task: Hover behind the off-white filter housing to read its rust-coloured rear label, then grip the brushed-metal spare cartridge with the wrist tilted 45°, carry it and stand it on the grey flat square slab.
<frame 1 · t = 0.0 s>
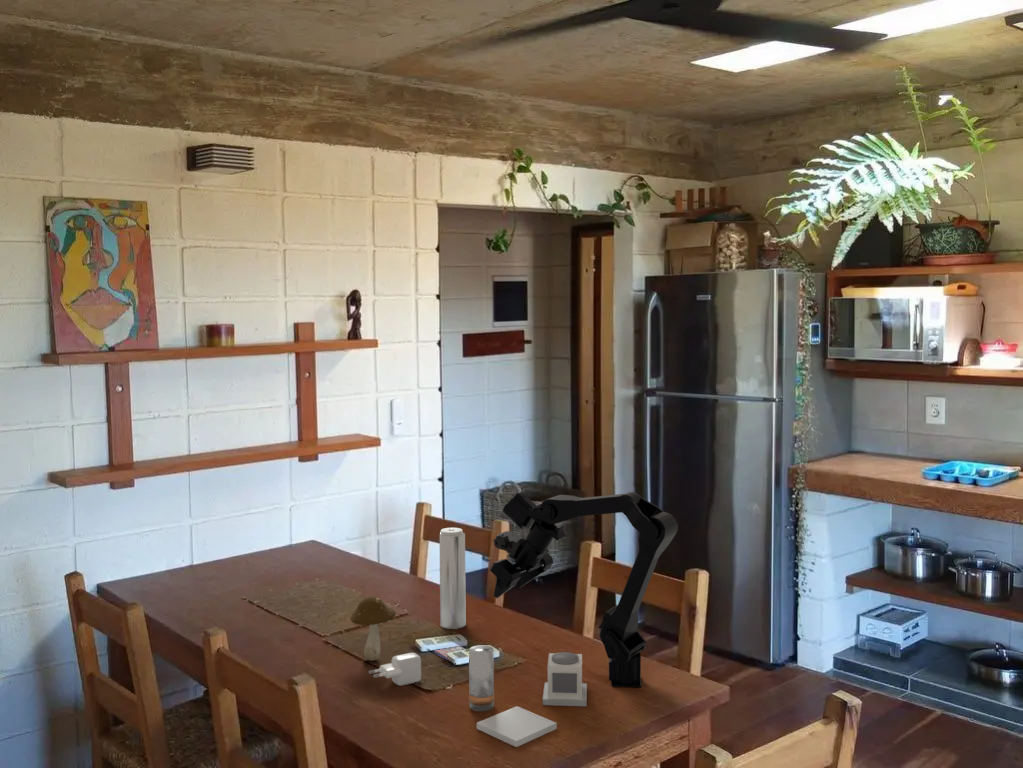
hand: (506, 591, 228), 15 cm above the table, tool tilted 35°, fingers open, 9 cm apart
power adapter: (395, 685, 211), on the table
grey flat square slab: (516, 728, 189), on the table
white tall cylinder: (453, 625, 249), on the table
filter housing: (565, 696, 204), on the table
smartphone: (453, 656, 229), on the table
mushroom: (373, 660, 226), on the table
spare cartridge: (481, 706, 200), on the table
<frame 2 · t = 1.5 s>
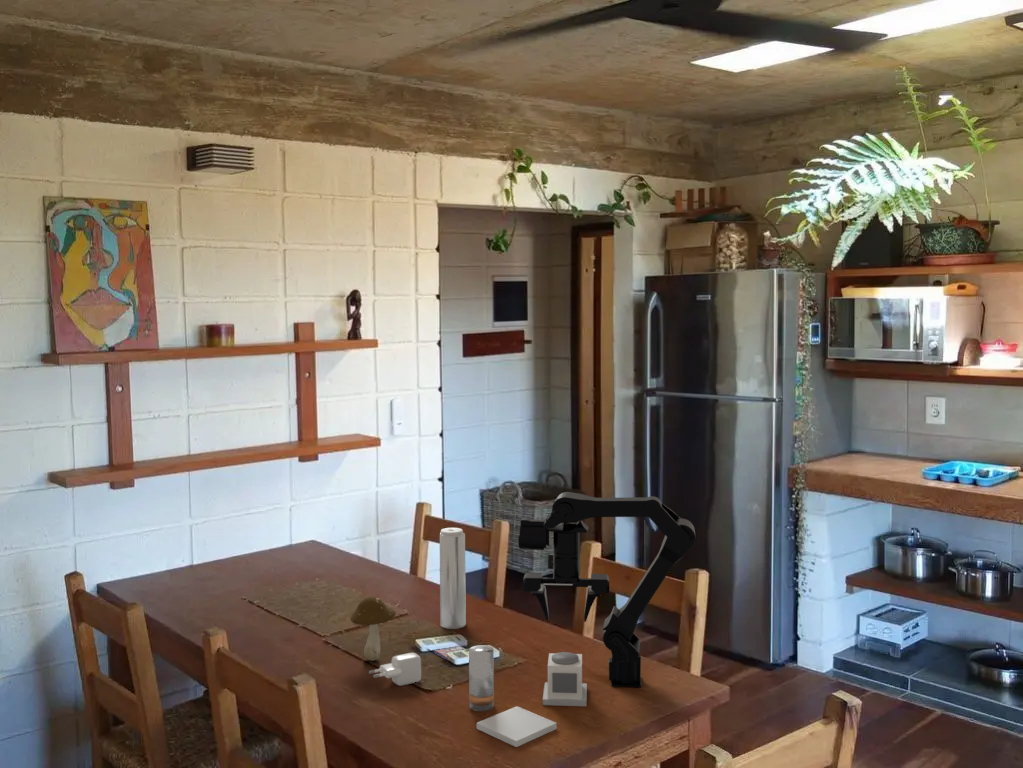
hand: (566, 620, 213), 13 cm above the table, tool pointing down, fingers open, 8 cm apart
nothing on the table moved.
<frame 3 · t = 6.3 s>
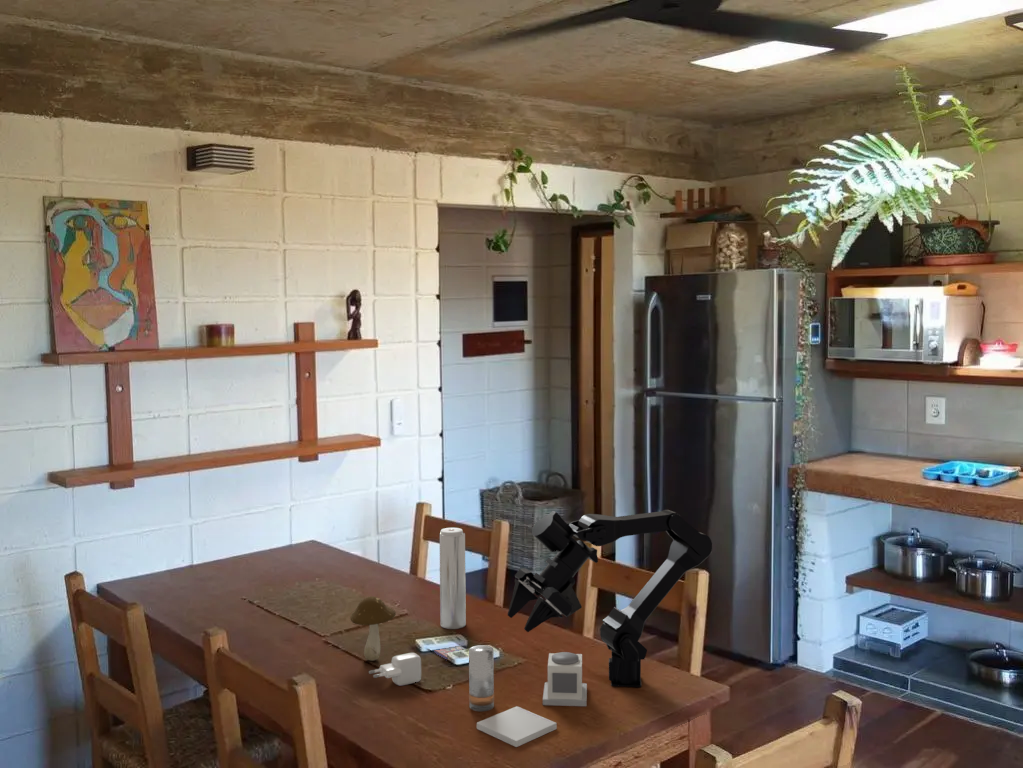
hand: (517, 623, 201), 16 cm above the table, tool tilted 45°, fingers open, 9 cm apart
nothing on the table moved.
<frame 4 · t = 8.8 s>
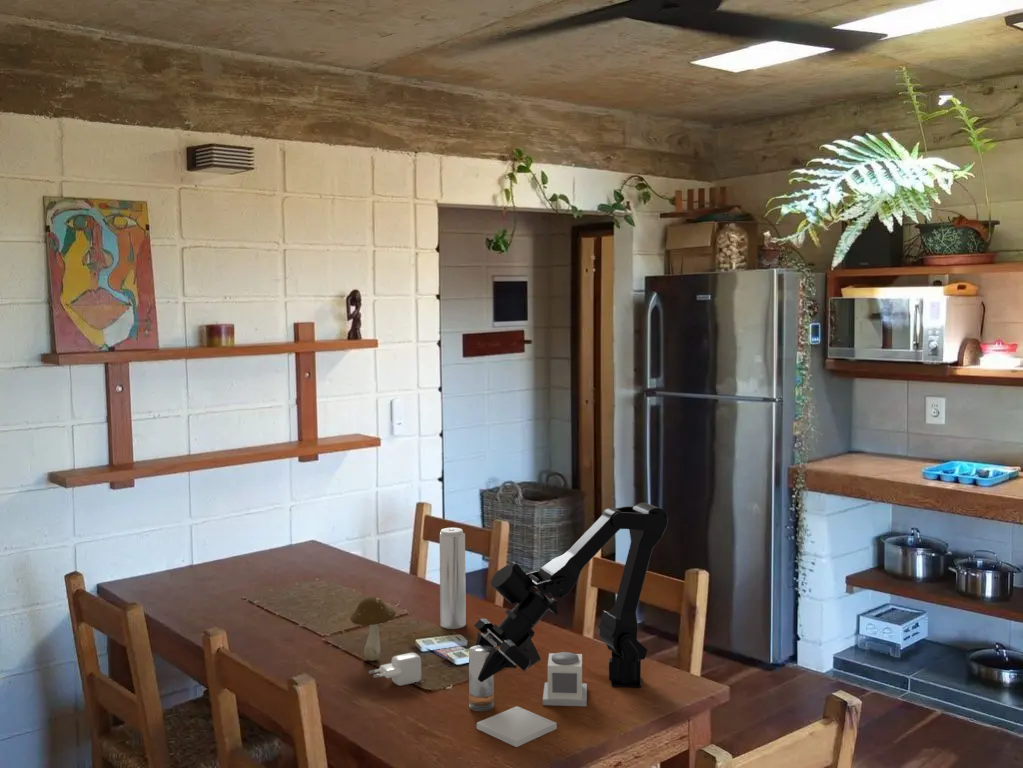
hand: (474, 675, 198), 7 cm above the table, tool tilted 45°, fingers closed on spare cartridge, 5 cm apart
spare cartridge: (481, 706, 199), on the table, touching gripper
everything else where it was.
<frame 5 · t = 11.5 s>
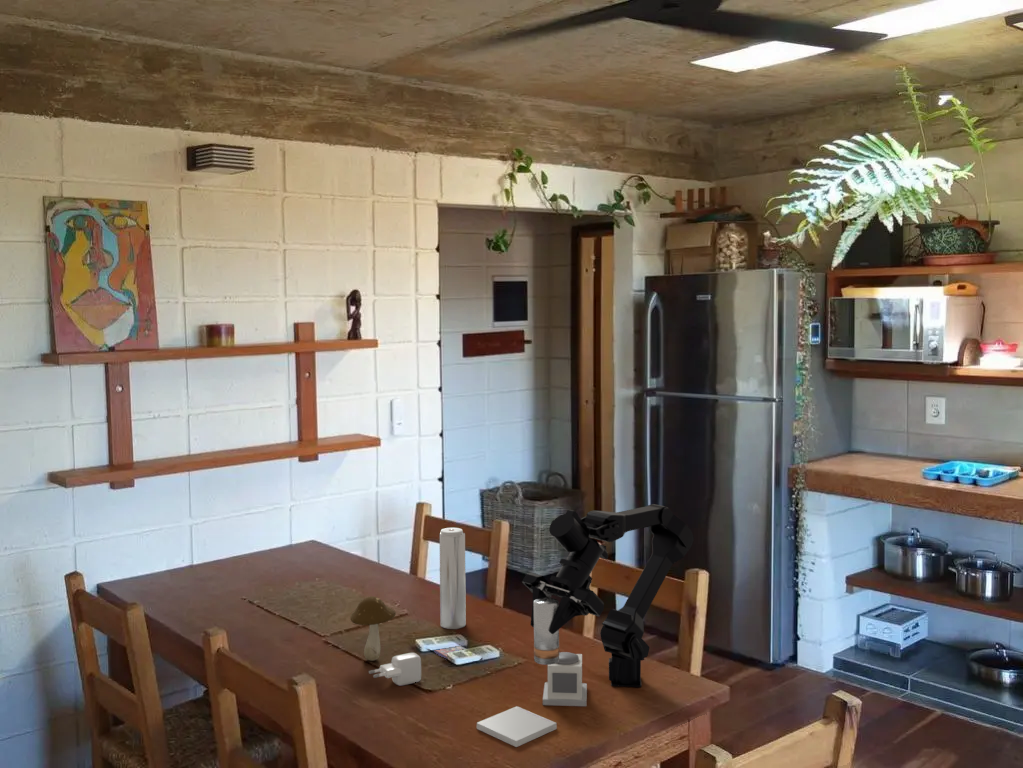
hand: (541, 629, 193), 18 cm above the table, tool tilted 45°, fingers closed on spare cartridge, 5 cm apart
spare cartridge: (546, 660, 195), point 11 cm above the table, touching gripper
everything else where it was.
when the fingers open (9 cm above the table, at t = 14.5 s): spare cartridge drops 1 cm, resting on grey flat square slab.
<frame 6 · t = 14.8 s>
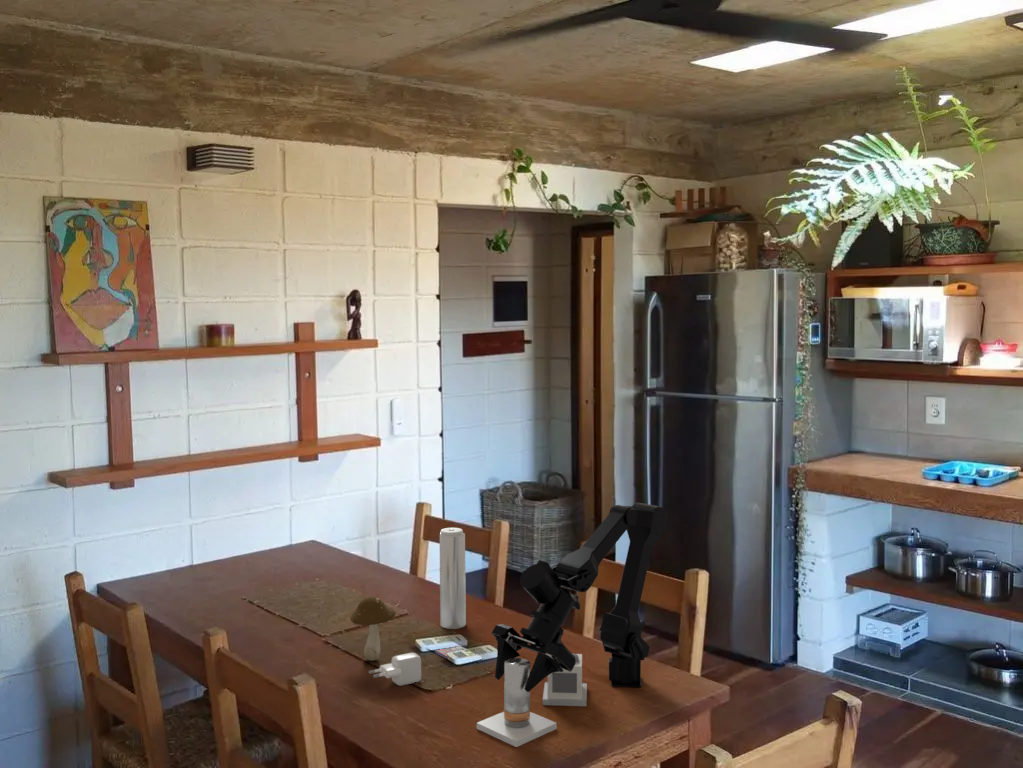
hand: (511, 684, 187), 9 cm above the table, tool tilted 45°, fingers open, 8 cm apart
spare cartridge: (516, 722, 189), point 1 cm above the table, touching grey flat square slab
everything else where it was.
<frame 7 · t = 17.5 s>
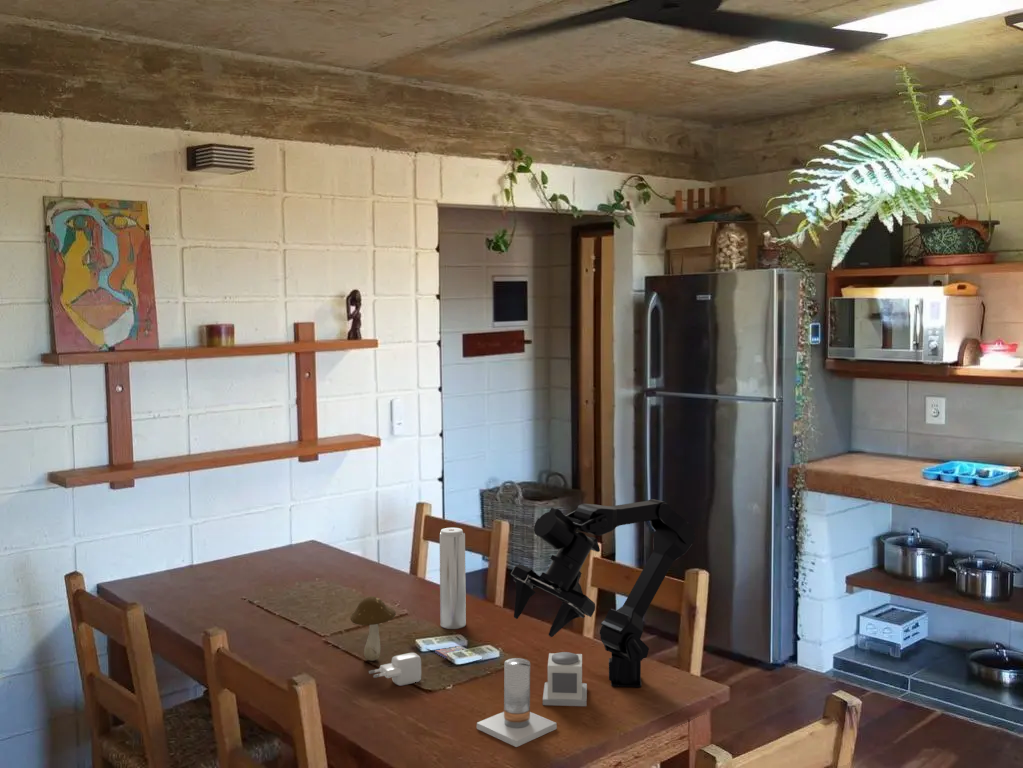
hand: (532, 627, 196), 17 cm above the table, tool tilted 35°, fingers open, 9 cm apart
nothing on the table moved.
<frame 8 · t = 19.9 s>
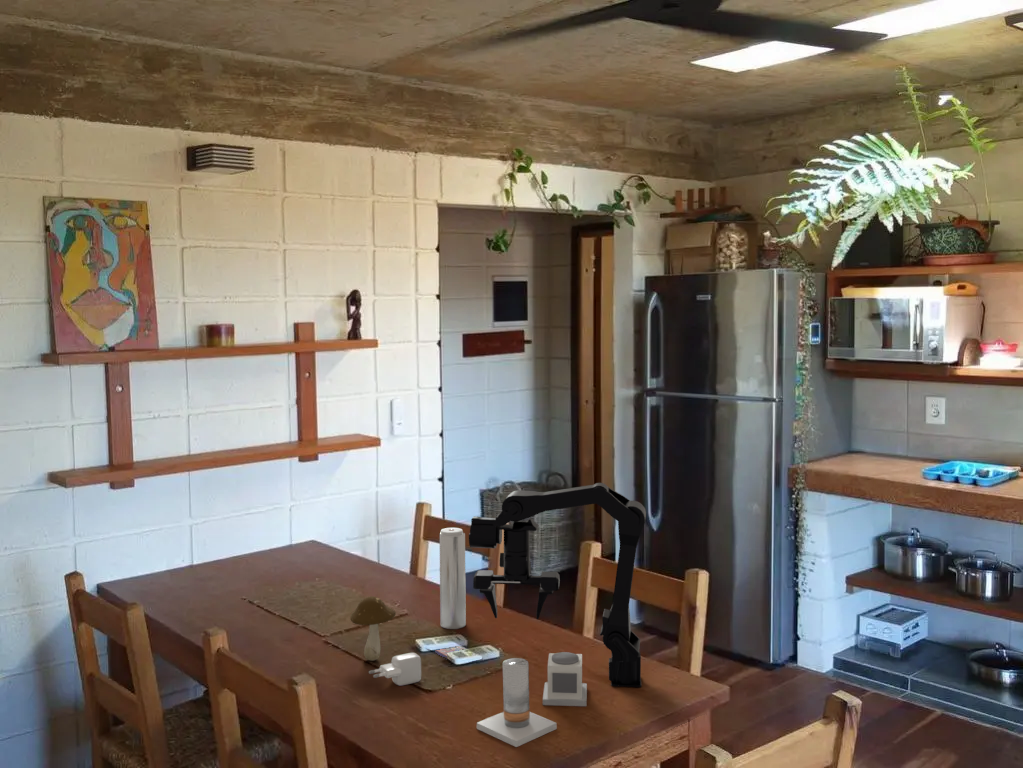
hand: (516, 618, 215), 13 cm above the table, tool pointing down, fingers open, 9 cm apart
nothing on the table moved.
at the end: spare cartridge inside the target area on the grey flat square slab (0.0 cm from its centre), point 1.2 cm above the grey flat square slab's base; spare cartridge tilted 1°; the gripper is holding nothing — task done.
